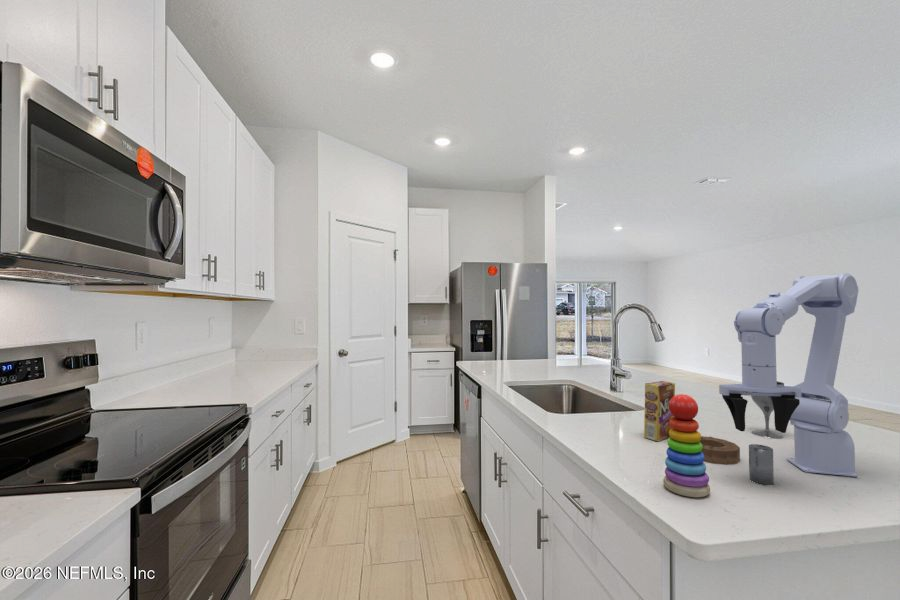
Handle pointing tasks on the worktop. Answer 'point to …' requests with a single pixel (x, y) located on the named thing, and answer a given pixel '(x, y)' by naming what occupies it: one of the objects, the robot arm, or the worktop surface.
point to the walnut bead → (719, 451)
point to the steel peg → (761, 464)
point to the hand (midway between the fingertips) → (760, 430)
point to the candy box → (658, 410)
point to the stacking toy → (685, 451)
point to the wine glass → (766, 413)
